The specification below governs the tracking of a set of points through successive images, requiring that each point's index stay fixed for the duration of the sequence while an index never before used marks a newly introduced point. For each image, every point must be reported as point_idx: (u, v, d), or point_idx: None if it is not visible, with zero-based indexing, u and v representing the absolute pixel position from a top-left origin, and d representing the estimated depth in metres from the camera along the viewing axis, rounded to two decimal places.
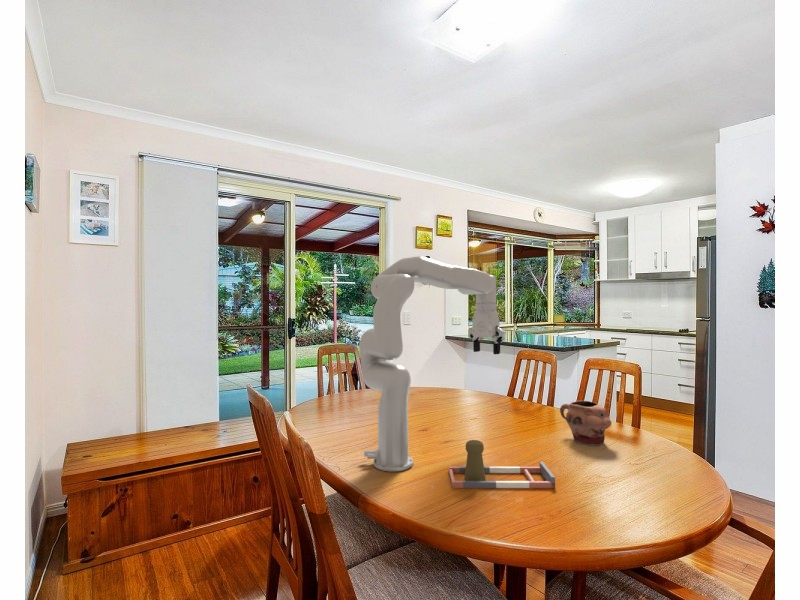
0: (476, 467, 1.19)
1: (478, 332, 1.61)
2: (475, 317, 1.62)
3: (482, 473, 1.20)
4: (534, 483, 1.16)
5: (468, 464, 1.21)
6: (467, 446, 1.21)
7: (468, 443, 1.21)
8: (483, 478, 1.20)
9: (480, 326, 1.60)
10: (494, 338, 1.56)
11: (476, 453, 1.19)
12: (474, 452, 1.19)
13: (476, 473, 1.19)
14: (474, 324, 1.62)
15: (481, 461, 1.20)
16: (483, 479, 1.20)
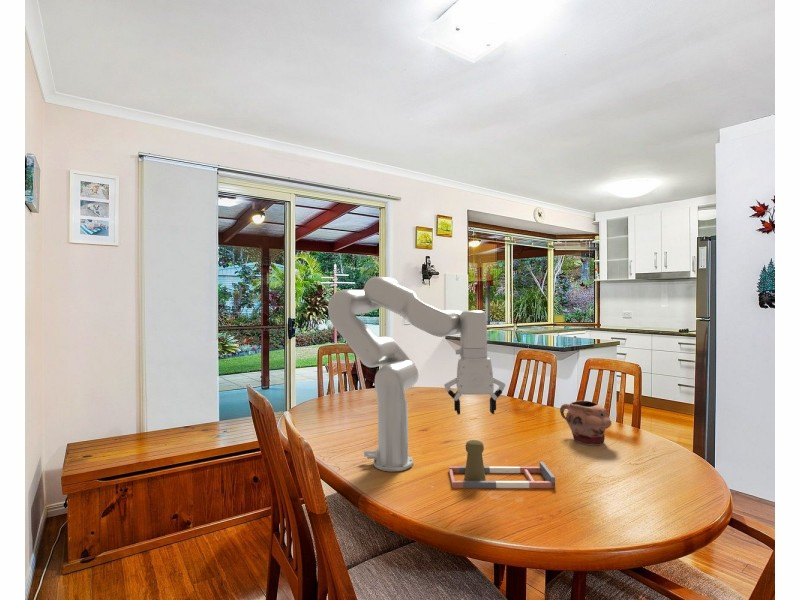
0: (476, 467, 1.19)
1: (470, 388, 1.19)
2: (464, 367, 1.19)
3: (482, 473, 1.20)
4: (534, 483, 1.16)
5: (468, 464, 1.21)
6: (467, 446, 1.21)
7: (468, 443, 1.21)
8: (483, 478, 1.20)
9: (475, 379, 1.19)
10: (493, 393, 1.20)
11: (476, 453, 1.19)
12: (474, 452, 1.19)
13: (476, 473, 1.19)
14: (463, 377, 1.19)
15: (481, 461, 1.20)
16: (483, 479, 1.20)
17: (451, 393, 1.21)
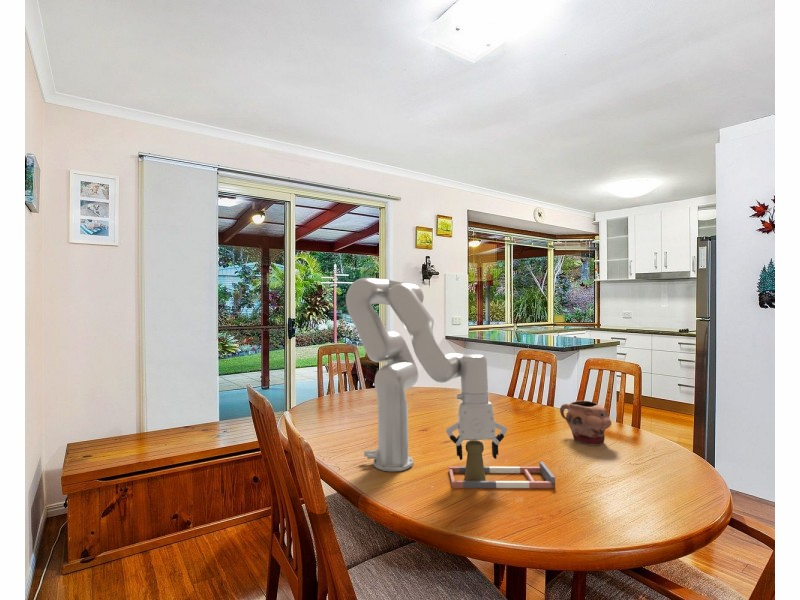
0: (476, 467, 1.19)
1: (472, 433, 1.19)
2: (466, 413, 1.19)
3: (482, 473, 1.20)
4: (534, 483, 1.16)
5: (468, 464, 1.21)
6: (467, 446, 1.21)
7: (468, 443, 1.21)
8: (483, 478, 1.20)
9: (476, 424, 1.19)
10: (495, 438, 1.20)
11: (476, 453, 1.19)
12: (474, 452, 1.19)
13: (476, 473, 1.19)
14: (464, 423, 1.19)
15: (481, 461, 1.20)
16: (483, 479, 1.20)
17: (453, 438, 1.21)
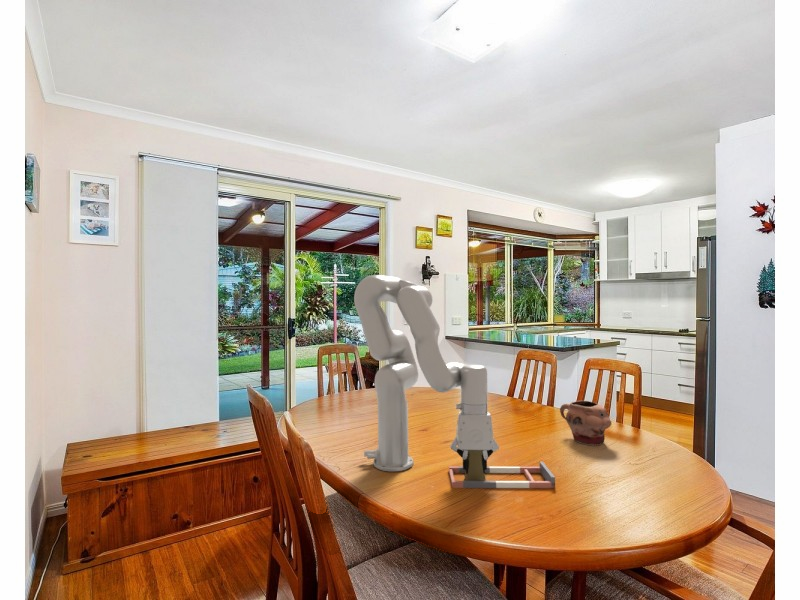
0: (476, 467, 1.19)
1: (470, 444, 1.19)
2: (464, 423, 1.19)
3: (482, 473, 1.20)
4: (534, 483, 1.16)
5: None
6: None
7: None
8: (483, 478, 1.20)
9: (475, 435, 1.19)
10: (486, 452, 1.20)
11: (476, 453, 1.19)
12: (475, 452, 1.19)
13: (476, 473, 1.19)
14: (463, 433, 1.19)
15: (481, 461, 1.20)
16: (483, 479, 1.20)
17: (460, 452, 1.21)
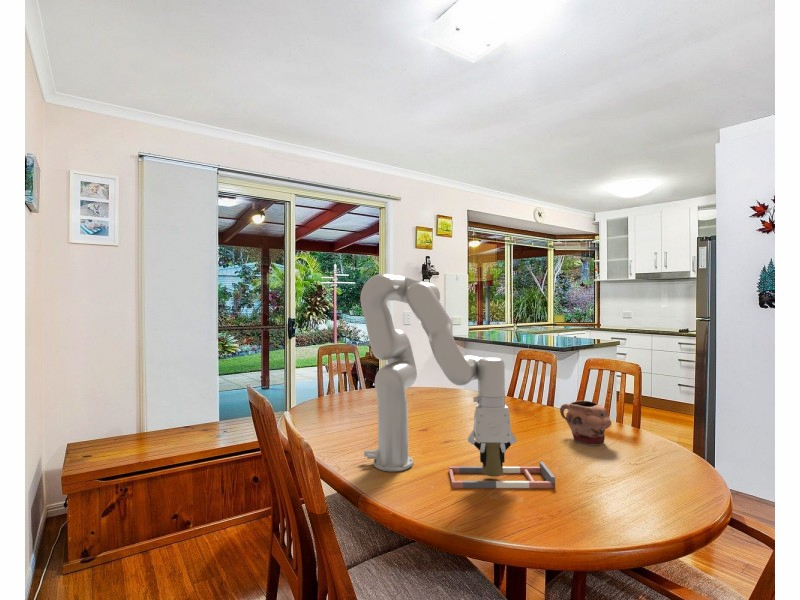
0: (494, 460, 1.19)
1: (488, 436, 1.19)
2: (482, 416, 1.19)
3: (500, 466, 1.20)
4: (534, 483, 1.16)
5: (486, 457, 1.20)
6: None
7: None
8: (501, 471, 1.20)
9: (492, 428, 1.19)
10: (504, 445, 1.20)
11: (494, 445, 1.19)
12: (492, 445, 1.19)
13: (494, 466, 1.19)
14: (480, 426, 1.19)
15: (499, 454, 1.20)
16: (501, 472, 1.20)
17: (477, 445, 1.21)
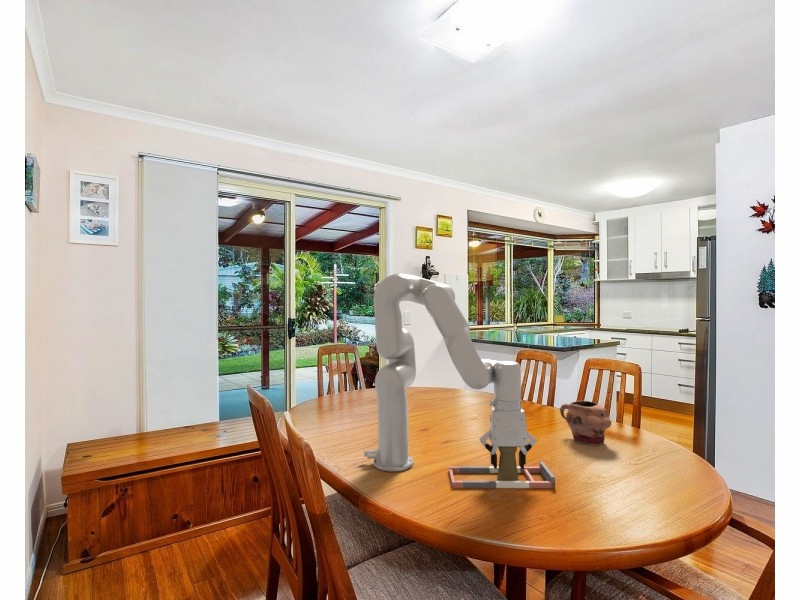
0: (509, 467, 1.19)
1: (504, 440, 1.19)
2: (498, 420, 1.19)
3: (515, 473, 1.20)
4: (534, 483, 1.16)
5: (501, 464, 1.20)
6: None
7: None
8: (516, 478, 1.20)
9: (509, 432, 1.19)
10: (524, 447, 1.20)
11: (509, 453, 1.19)
12: (508, 452, 1.19)
13: (510, 473, 1.19)
14: (497, 429, 1.19)
15: (514, 461, 1.20)
16: (516, 479, 1.20)
17: (488, 447, 1.21)
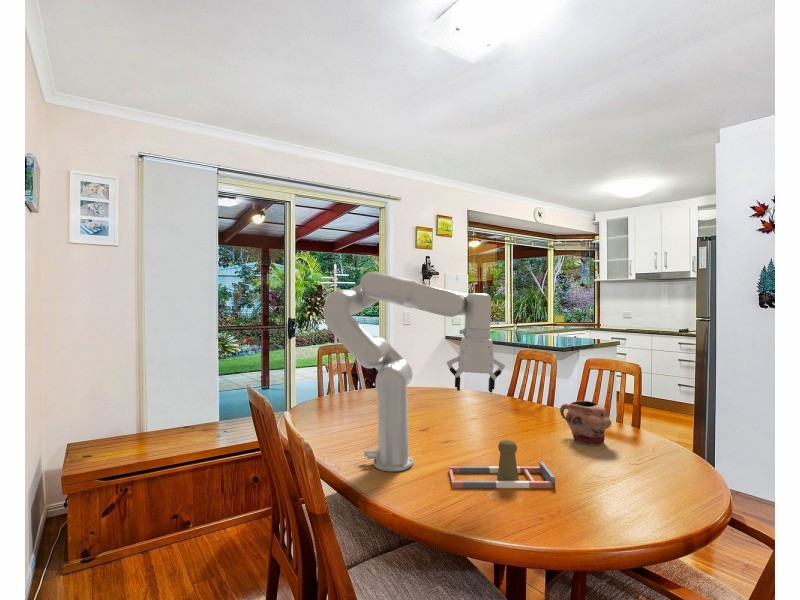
0: (509, 467, 1.19)
1: (471, 366, 1.25)
2: (467, 346, 1.25)
3: (515, 473, 1.20)
4: (534, 483, 1.16)
5: (501, 464, 1.20)
6: (500, 446, 1.20)
7: (501, 443, 1.21)
8: (516, 478, 1.20)
9: (476, 358, 1.25)
10: (492, 373, 1.26)
11: (509, 453, 1.19)
12: (508, 452, 1.19)
13: (510, 473, 1.19)
14: (464, 355, 1.25)
15: (514, 461, 1.20)
16: (516, 479, 1.20)
17: (452, 370, 1.28)
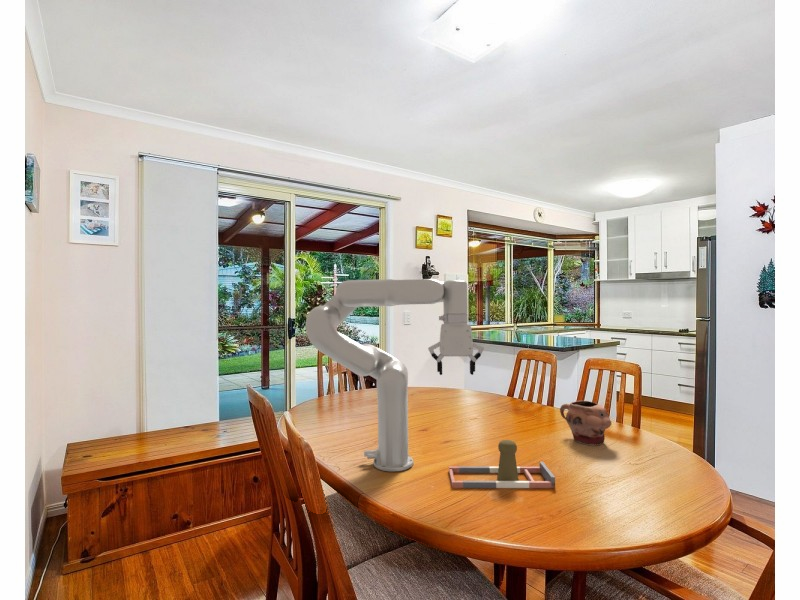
0: (509, 467, 1.19)
1: (452, 350, 1.30)
2: (446, 332, 1.30)
3: (515, 473, 1.20)
4: (534, 483, 1.16)
5: (501, 464, 1.20)
6: (500, 446, 1.21)
7: (501, 443, 1.21)
8: (516, 478, 1.20)
9: (456, 342, 1.30)
10: (472, 355, 1.31)
11: (509, 453, 1.19)
12: (508, 452, 1.19)
13: (510, 473, 1.19)
14: (445, 340, 1.30)
15: (514, 461, 1.20)
16: (516, 479, 1.20)
17: (434, 355, 1.32)
